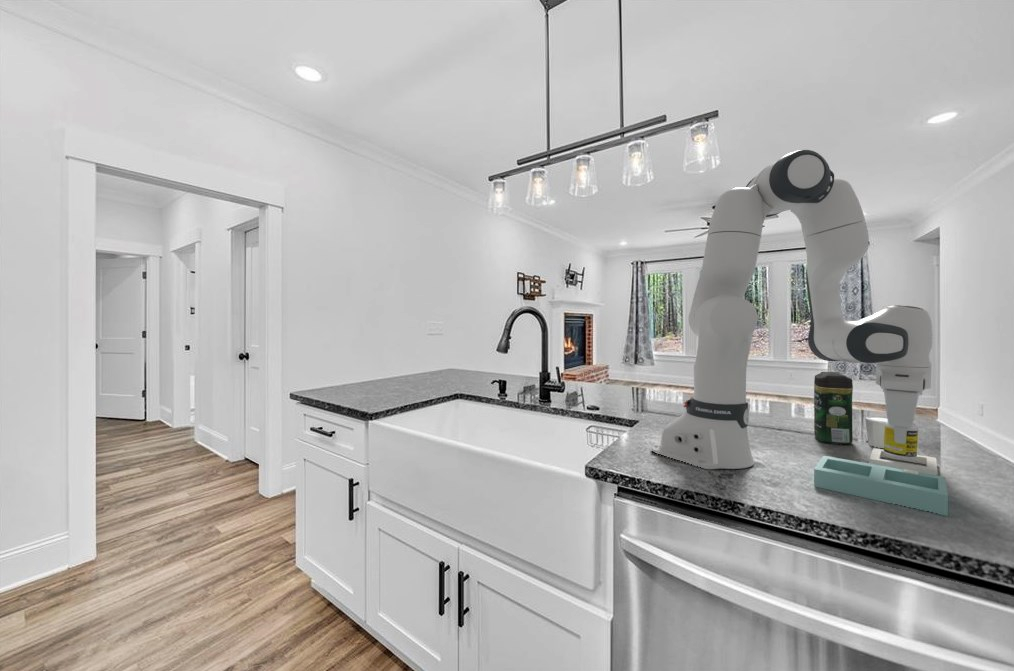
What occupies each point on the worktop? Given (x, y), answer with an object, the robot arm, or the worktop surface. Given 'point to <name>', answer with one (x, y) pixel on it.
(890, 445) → the supplement bottle
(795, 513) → the worktop surface
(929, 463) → the white shallow tray
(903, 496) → the block
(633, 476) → the worktop surface
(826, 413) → the coffee jar
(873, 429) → the white round container
